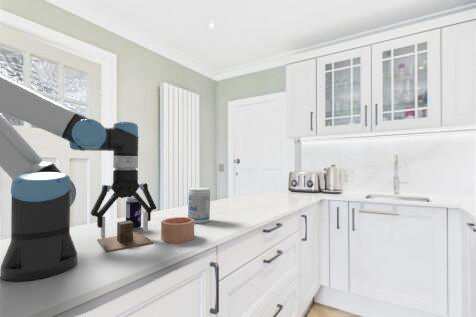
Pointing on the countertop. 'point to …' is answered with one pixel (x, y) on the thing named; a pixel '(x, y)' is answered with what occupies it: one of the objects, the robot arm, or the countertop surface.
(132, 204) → the beverage can
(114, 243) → the walnut lid
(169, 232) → the terracotta bowl
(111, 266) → the countertop surface
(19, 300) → the countertop surface
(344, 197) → the countertop surface
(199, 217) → the supplement tub
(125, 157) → the robot arm
